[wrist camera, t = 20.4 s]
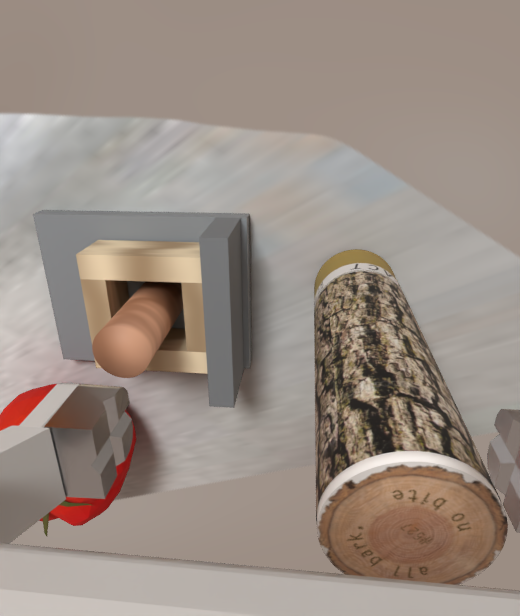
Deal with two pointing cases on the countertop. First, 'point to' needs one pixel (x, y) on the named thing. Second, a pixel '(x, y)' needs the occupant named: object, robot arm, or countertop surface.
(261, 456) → the countertop surface
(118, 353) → the dowel
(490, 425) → the countertop surface
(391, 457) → the wooden log
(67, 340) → the slate track
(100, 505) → the tomato
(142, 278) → the square wooden frame
